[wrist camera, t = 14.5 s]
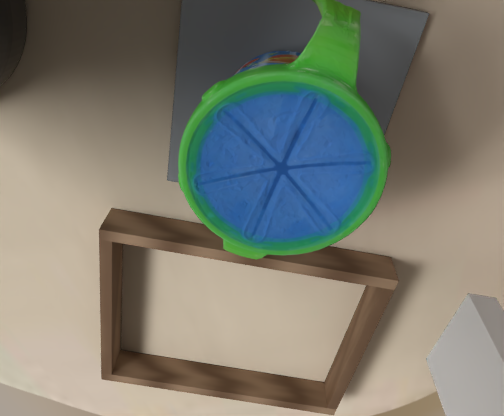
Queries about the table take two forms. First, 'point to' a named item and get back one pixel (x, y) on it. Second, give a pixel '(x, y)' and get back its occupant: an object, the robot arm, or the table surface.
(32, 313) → the table surface
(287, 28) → the slate mat
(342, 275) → the wooden frame
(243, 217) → the snack cup
